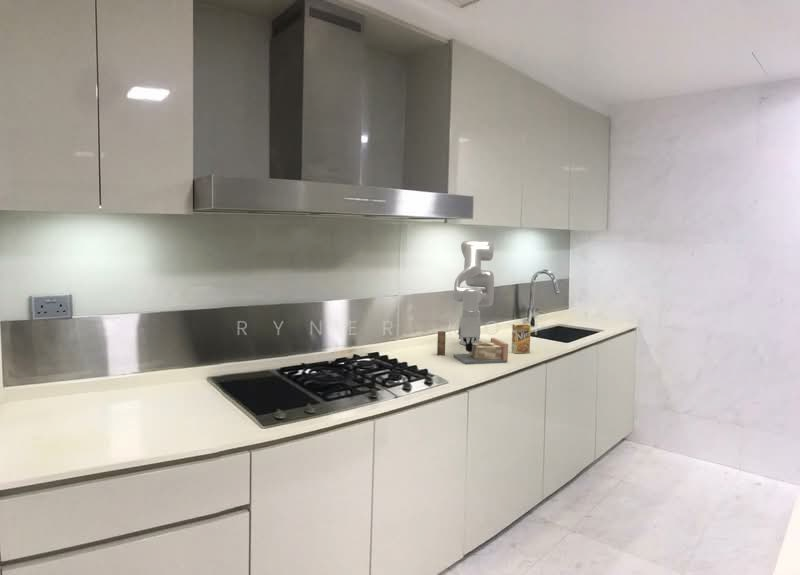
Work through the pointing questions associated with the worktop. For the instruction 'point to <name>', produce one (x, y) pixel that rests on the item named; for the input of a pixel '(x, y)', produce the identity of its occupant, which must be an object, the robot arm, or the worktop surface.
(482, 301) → the robot arm
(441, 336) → the dowel
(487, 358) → the socket block
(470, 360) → the rail board
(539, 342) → the worktop surface
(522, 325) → the candy box
